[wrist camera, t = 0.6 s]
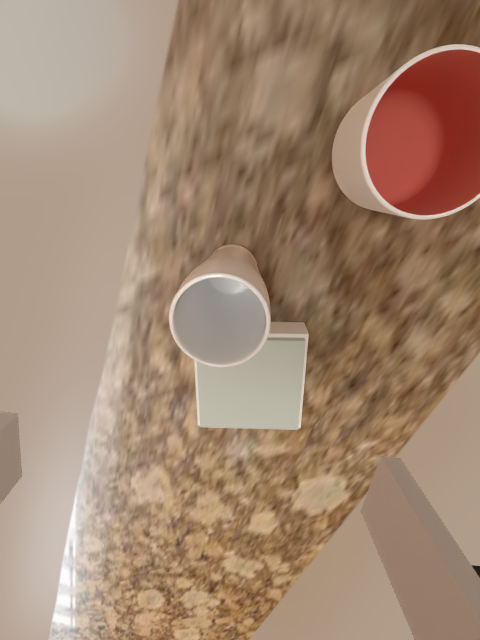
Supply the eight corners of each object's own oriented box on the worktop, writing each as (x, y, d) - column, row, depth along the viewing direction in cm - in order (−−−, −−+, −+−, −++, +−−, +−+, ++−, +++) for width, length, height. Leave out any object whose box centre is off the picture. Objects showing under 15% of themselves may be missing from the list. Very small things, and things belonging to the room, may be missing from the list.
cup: (435, 202, 32) (508, 209, 23) (330, 216, 33) (360, 228, 24) (445, 79, 28) (537, 28, 19) (326, 98, 29) (361, 58, 20)
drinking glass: (234, 311, 37) (222, 387, 23) (187, 269, 35) (145, 324, 22) (277, 267, 35) (294, 322, 21) (230, 221, 33) (215, 248, 20)
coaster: (304, 322, 37) (309, 337, 34) (297, 410, 42) (301, 432, 38) (197, 320, 38) (191, 335, 34) (201, 408, 42) (196, 429, 38)
